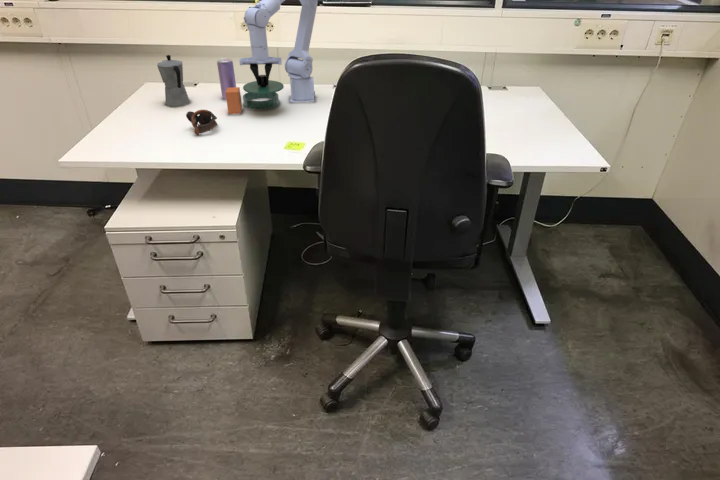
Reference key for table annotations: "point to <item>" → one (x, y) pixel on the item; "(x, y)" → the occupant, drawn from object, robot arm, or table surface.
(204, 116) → the pottery mug
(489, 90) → the table surface
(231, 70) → the beverage can
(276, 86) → the tin lid
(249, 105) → the lunch tin
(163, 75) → the coffeepot
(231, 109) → the juice carton
